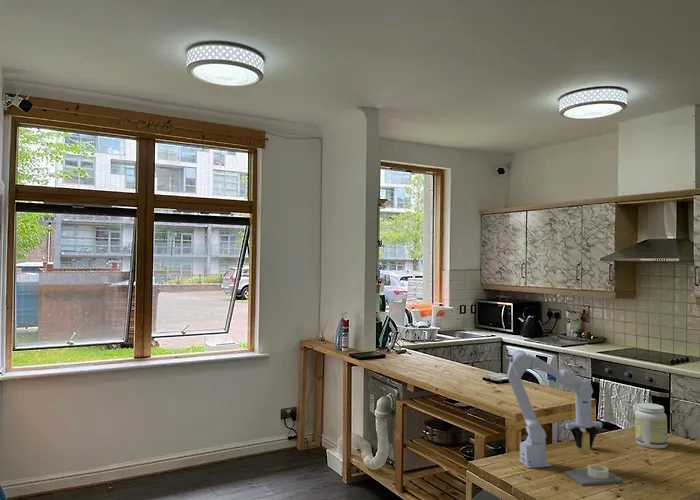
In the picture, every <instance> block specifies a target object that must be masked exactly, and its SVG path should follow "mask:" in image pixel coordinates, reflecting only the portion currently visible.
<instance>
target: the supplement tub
mask: <svg viewBox="0 0 700 500" xmlns="http://www.w3.org/2000/svg"><path fill="white" fill-rule="evenodd" d="M634 425H635V426H634V428H635V429H634V430H635V441H636V442H635V443H636V444H638V445H639V446H642V447H644V448H648V449H649V448H650V449H665V448H667V447H668V445H669V441H668V440H669V439H668V438H669V437H668V417H667V414H666V413H665V407H664V406H663V405H660V404H658V403H657V404H656V403H651V402H640V403H637V404H636V410H635V412H634Z"/></svg>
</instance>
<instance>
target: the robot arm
mask: <svg viewBox="0 0 700 500" xmlns="http://www.w3.org/2000/svg"><path fill="white" fill-rule="evenodd" d="M529 368H530V369H532V370H533V369H534V370H535V369H539V370H541V371H542V372H544V373H546V374H549V375H551V376H552V377H555V380H556V382H557V383H558V384H560V385H562V386H563V387H566V388H567V389H568V390H570V391H574V392H575V398H574V400H575V401H574V402H575V404H574V405H575V421H571V422H565V424H564V425H565V429H566V430H570V431H571V434H572V436H573V438H574V442H575V444H576V447H577V448H578V449H579V448H581V446H582V441H581V440H582V434H583V431H581V430H580V428H585V430H586V431H587V432H589V433H590V448H592V447H593V443H594V440H595V437H596V436H597V434H598V433H599V429H598V428H600V429H601V428H603V422H601V421H598V420H597V421H596V420H594V421H592V418H593V417H592V413H593V412H592V395H593V393H594V389H593V386H592V385H591V383H590V382H588V381H586V380H585V379H583V377H581V376H577V375H575V374H573V373H572V371H571V370H569V369H567V370H566V369H558V368H556V367H554V366H552V365H551V364H549V363H547V362H546V361H544V360H542V359H540V358H539V357H537V356H535V355H533V354H530V353H526V352H525V351H523V350H516V351H515V352H513V353H512V355H511V356H510V358H509V365H508V370H507V375H506V377H507V379H508V382H509V385H510V386H511V390H512V391H513V393H514V396H515V398H516V399H515V400H516V402H517V404H518V407H519V409H520V411H521V414H522V417H523V418H524V422H525V431H526V433H527V434H528V435H527V436H526V440H523V441H521V442H520V443H519V460H518V461H519V462H520V463H521V464H522V465H524V466H526V468H528V469H530V468H531V469H533V468H545V467H547V468H548V467H551V466H552V465H551V464H550V463H549V462H547V441H546V439H547V433H546V431H545V429H544V428H543V426H542V424H541V423H540V422H539V420H538V418H537V416H536V413H535V411H534V407H533V406H532V404H531V403H532V402H531V401H530V398H529V396H528V393H527V391H526V389H525V386H524V384H523V381H522V376H523V375H524V373H525V372H527V370H529Z"/></svg>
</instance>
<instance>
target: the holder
mask: <svg viewBox="0 0 700 500" xmlns="http://www.w3.org/2000/svg"><path fill="white" fill-rule="evenodd" d="M586 467H587V469H579V470H566V471H564V475H566V476H567V477H568V478H570V479H571V480H573V481H574V482H576V483H577V484H579V485H580V486H582V487H586V486H595V485H608V484H609V485H610V484H622V482H623V483H624V479H622V478H621V477H619V476H617V475H616V474H614V473H612V472H610V470H609V468H608V467H607V466H604V465H600V464H588V465H587V466H586Z"/></svg>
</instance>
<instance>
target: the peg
mask: <svg viewBox="0 0 700 500" xmlns="http://www.w3.org/2000/svg"><path fill="white" fill-rule="evenodd" d="M581 441H582V446H581V448H579V447H578V454H579V455H583V456H589V455H591V447H590V433H589V432H587V431H583V434H582V440H581Z"/></svg>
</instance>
